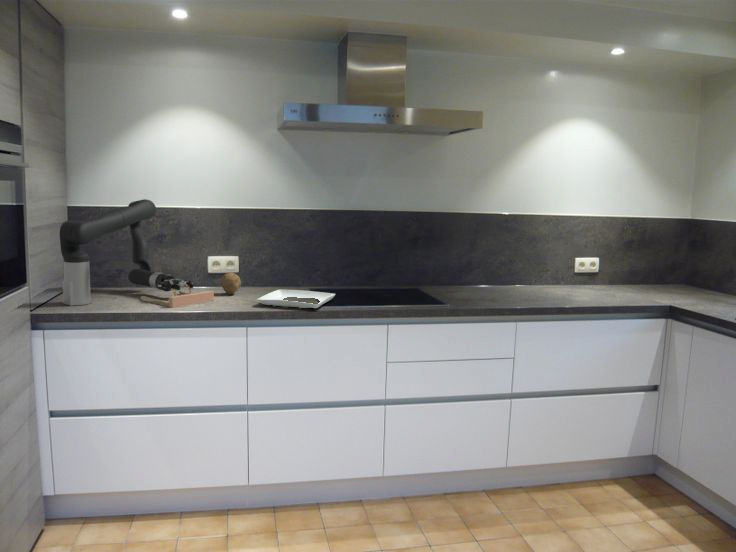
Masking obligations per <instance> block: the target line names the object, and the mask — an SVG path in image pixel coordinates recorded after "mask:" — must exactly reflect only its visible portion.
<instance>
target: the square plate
mask: <svg viewBox="0 0 736 552" xmlns="http://www.w3.org/2000/svg"><path fill="white" fill-rule="evenodd" d="M335 296H336V293H331V292H323V291H322V292H320V291H311V290H302V289H301V290H298V289H277V290H274V291H272V292H269V293H266V294H264V295H262V296H260V297H259V298H256V300H257V301H258V302H259V303H261V304H263V305H266V306H270V305H274V306H273V307H275V306H291V307H306V308H314V309H317V308H319V307H321V306H322V305H324V304H325V303H327V302H329V301H331V300H332V299H333V298H334V297H335ZM287 297H297V298H315V299H318V300H319V301H320V302H319V303H318V304H313V303H306V302H298V301H288V300H283V299H284V298H287Z"/></svg>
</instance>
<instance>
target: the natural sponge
mask: <svg viewBox="0 0 736 552" xmlns="http://www.w3.org/2000/svg"><path fill="white" fill-rule="evenodd" d="M220 284H221V287H222V290H223V291H224V292H225V293H226V294H227V295H229V296H230V295H233V294H235V293H236V292H237V291H238V290H239V289H240V288H241V286H242V281H241V277H240V276H238V275H237V274H236V273H234V272H227V273H225V274H224V275H223V276H222V277H221V278H220Z"/></svg>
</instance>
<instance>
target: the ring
mask: <svg viewBox="0 0 736 552" xmlns="http://www.w3.org/2000/svg"><path fill="white" fill-rule="evenodd" d="M178 285H180V286H181V285H184V286H187V287H188V288H187V287H186V288H187V289H188V292H189V294H191V293H192V288H190V286H189V285H187V284H186V282H185V283H184V282H183V281H182V282H181V283H180V282H178ZM176 291H177V290H175V289H173V294H174V296H178V295H177V293H176Z"/></svg>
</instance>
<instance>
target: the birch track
mask: <svg viewBox="0 0 736 552" xmlns="http://www.w3.org/2000/svg"><path fill="white" fill-rule="evenodd" d="M193 293H194V292H191V294H193ZM186 294H189V291H184V290H178V296H179V295H186ZM140 300H141V301H143V302H147V303H152V304H157V305H160V306H163V307H169V301H166V300H162V299H158V298H153V297H149V296H145V295H142V296H140ZM169 308H170V307H169Z"/></svg>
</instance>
